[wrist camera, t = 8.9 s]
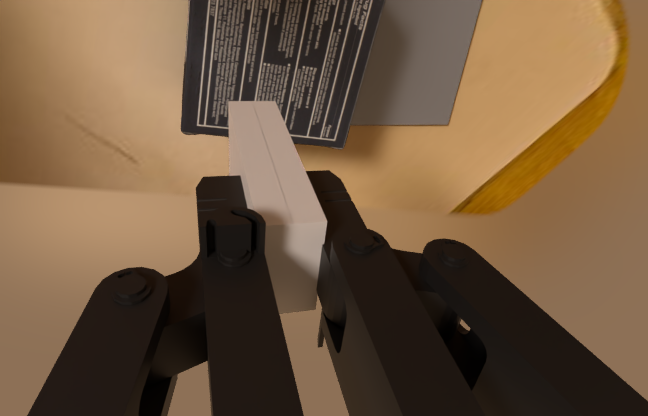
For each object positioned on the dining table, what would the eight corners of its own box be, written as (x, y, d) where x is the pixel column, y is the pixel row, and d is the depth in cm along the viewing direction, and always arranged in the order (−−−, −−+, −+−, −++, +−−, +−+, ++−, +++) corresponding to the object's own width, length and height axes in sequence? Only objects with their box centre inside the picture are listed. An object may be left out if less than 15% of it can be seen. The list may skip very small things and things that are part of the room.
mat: (215, 124, 35) (216, 126, 35) (208, -144, 26) (208, -144, 26) (445, 122, 40) (447, 124, 39) (506, -104, 31) (510, -103, 30)
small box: (180, 94, 33) (322, 114, 36) (178, 136, 28) (344, 155, 31) (194, -78, 27) (361, -36, 30) (194, -66, 22) (395, -17, 25)
